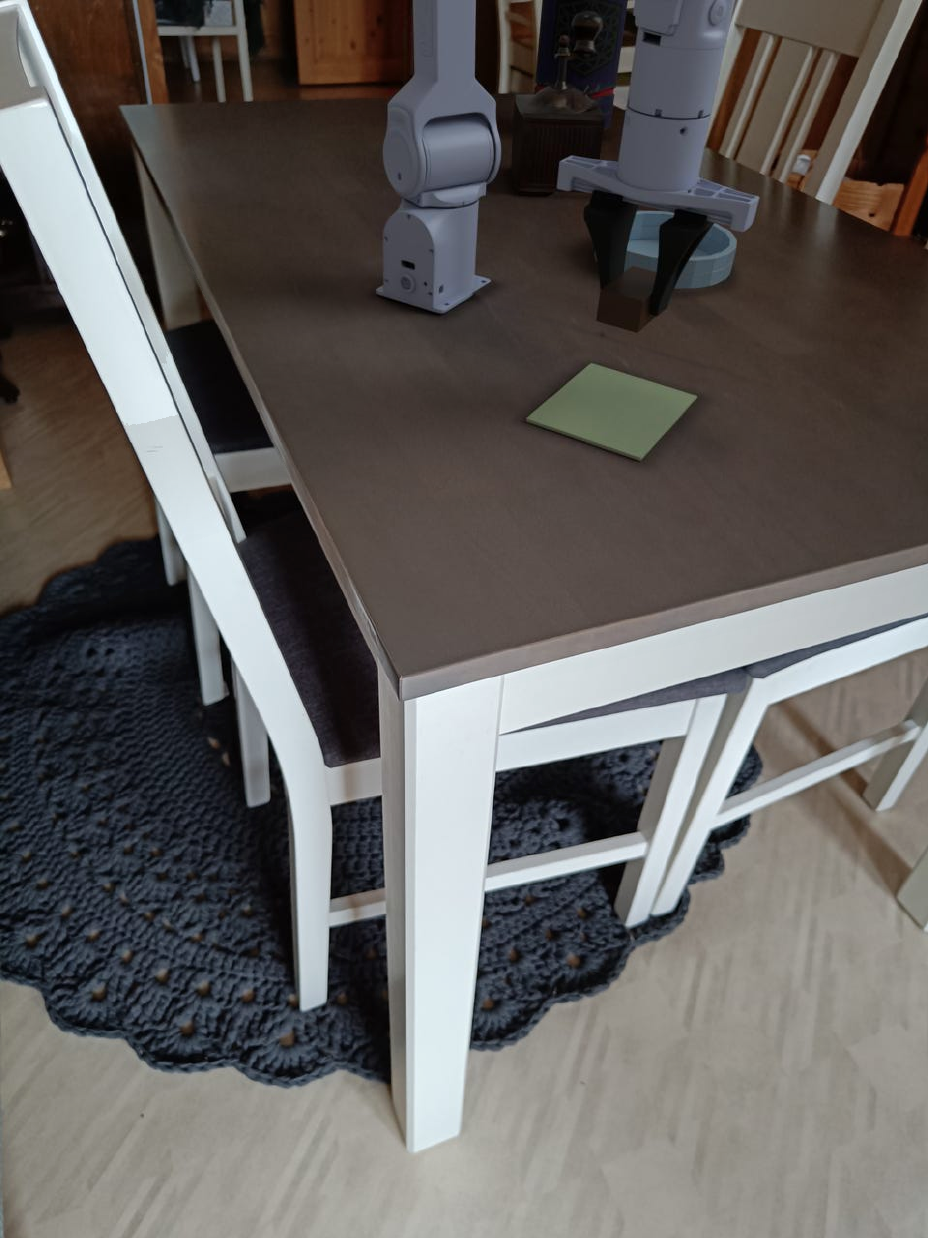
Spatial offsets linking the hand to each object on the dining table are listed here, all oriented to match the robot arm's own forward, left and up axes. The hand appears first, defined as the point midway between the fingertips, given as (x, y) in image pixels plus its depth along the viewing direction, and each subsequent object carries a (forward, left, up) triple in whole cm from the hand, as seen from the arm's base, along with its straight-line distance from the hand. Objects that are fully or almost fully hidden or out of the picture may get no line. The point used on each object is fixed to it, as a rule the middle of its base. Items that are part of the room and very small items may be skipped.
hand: (633, 304), depth 70 cm
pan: (+30, +9, -8) cm, 33 cm away
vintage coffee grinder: (+50, +33, -8) cm, 61 cm away
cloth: (-2, 0, -8) cm, 8 cm away
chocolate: (0, 0, -1) cm, 1 cm away
